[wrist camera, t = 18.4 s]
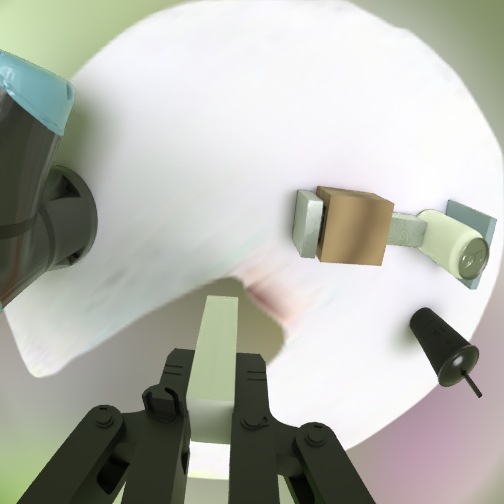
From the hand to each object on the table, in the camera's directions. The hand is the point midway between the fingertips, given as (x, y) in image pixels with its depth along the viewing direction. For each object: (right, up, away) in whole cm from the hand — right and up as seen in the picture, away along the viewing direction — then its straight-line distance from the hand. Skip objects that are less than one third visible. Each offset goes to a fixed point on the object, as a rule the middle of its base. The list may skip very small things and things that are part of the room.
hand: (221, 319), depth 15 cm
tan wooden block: (+14, +8, +23) cm, 28 cm away
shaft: (+16, +8, +23) cm, 29 cm away
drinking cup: (+31, -8, +30) cm, 44 cm away
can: (+28, +7, +24) cm, 38 cm away
